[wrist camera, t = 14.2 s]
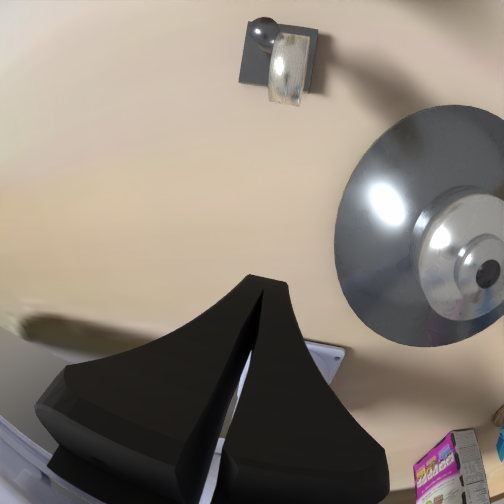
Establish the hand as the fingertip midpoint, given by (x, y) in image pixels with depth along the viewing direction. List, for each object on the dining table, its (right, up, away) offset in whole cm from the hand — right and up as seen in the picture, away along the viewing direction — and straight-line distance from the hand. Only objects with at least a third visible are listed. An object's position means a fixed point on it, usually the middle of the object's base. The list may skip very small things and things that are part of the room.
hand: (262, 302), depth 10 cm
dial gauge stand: (+1, +13, +5) cm, 14 cm away
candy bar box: (+27, -26, +19) cm, 42 cm away
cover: (+13, +2, +6) cm, 15 cm away
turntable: (+15, +3, +6) cm, 16 cm away
